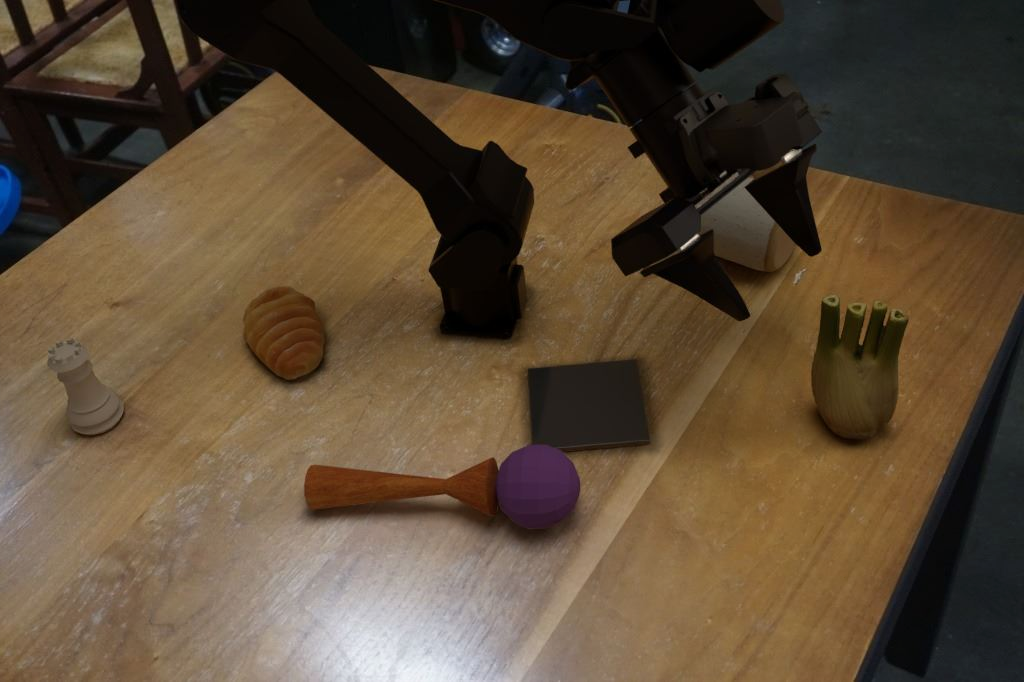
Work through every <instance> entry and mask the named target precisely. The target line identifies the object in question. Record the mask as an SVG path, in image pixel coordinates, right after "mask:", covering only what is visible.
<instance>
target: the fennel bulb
mask: <svg viewBox="0 0 1024 682" xmlns="http://www.w3.org/2000/svg"><path fill="white" fill-rule="evenodd" d="M867 308H868V305H867V304H866V303H864V301H863V302H862V301H857V302H856V301H855V302H852V303H850V304H848V305H847V306H846V312H845V316H844V321H843V326H842V330H841V334H840V327H841V298H840V296H838V294H830V295H826V296H824V297H823V298H822V299H821V303H820V319H819V328H818V329H819V330H818V335H817V341H816V347H815V350H814V354H813V359H812V362H811V370H810V371H811V372H810V376H811V378H810V379H811V382H810V384H811V392H812V396H813V398H814V403H815V405H816V408H817V411H818V413H819V415H820V417H821V418H822V419H823V421H824V423H825V424H826V425H827V426H828V428H829V430H830V431H832V432H833V433H834V434H835V435H837V436H839V437H841V438H845V439H851V440H864V439H868V438H870V437H872V436H873V435H874V434H875V433H877V432H880V431H881V430H882V429H884V428H885V427H886V426H887V425H888V424H889V423H890V422H891V420H892V419H893V417H894V416H895V415H894V414H895V412H896V408H897V405H898V398H899V385H900V384H899V356H900V351H901V346H902V343H903V339H904V337H905V333H906V329H907V327H908V324H909V319H910V318H909V315H908V314H907V313H906V312H905V311H904V310H901V309H897V308H894V307H892V308H890V311H889V313H888V304H887V303H885V302H883V301H882V300H881V299H880V300H879V299H873V302H872V306H871V312H870V315H869V316H870V317H869V319H868V323H867V326H866V331H865V334H864V338H863V341H862V344H860V340H861V336H862V335H861V334H862V331H863V327H864V322H865V318H866V312H867ZM887 313H888V317H887V321H886V323H885V319H886V315H887ZM884 323H885V325H884Z"/></svg>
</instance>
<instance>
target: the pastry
mask: <svg viewBox="0 0 1024 682" xmlns="http://www.w3.org/2000/svg"><path fill="white" fill-rule="evenodd" d="M242 322H243V330H242V333H243V339H244V341H245V342H246V343H247V344H248V347H249V348H250V350H251V352H253V354H254V355H255V356H256V357H257V358H258V359H259V361H261V362H262V363H263V364H264V365H265V366H266V367H267V368H268V369H269V370H270V371H271V372H272V373H274V374H275V376H278V377H280V378H283V379H284V380H288V381H289V380H295V379H297V378H300V377H303V376H305V375H308V374H310V373H311V372H313V371H314V370H316V368H318V367H319V365H320V364H321V361H322V359H323V357H324V345H325V342H326V339H325V334H324V333H325V332H324V331H325V321H324V320H323V318H322V317H321V316H320V315H319V313H318V311H317V308H316V303H315V301H314V300H313V299H312V298H310V297H309V296H306V295H305V294H304V293H302V292H300V291H299V290H296V289H295V288H294V287H292V286H287V285H284V286H283V285H282V286H276V287H272V288H269V289H266V290H264V291H263V292H261V293H260V294H259V295H258V296H257V297H255V298H253V299H251V301H250V302H249V304H248V305H247V306H246V308H245V310H244V314H243V317H242Z"/></svg>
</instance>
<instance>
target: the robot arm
mask: <svg viewBox="0 0 1024 682" xmlns="http://www.w3.org/2000/svg"><path fill="white" fill-rule="evenodd" d="M175 1H176V5H177V8H178V9H177V10H178V12H177V15H178V17H179V18H180V20H181V22H182V23H183V25H184V26H186V28H187V29H188V30H189V31H190V33H192V34H193V35H195V36H196V37H197V38H199V39H201V40H202V41H204V42H205V43H207V44H208V45H210V46H212V47H213V48H215V49H216V50H218V51H220V52H221V53H223V54H225V55H226V56H227V57H229V58H230V59H232V60H234V61H238V62H242V63H246V64H249V65H252V66H257V67H261V68H264V69H268V70H272V71H274V72H276V73H277V74H279V75H280V76H281V77H283V78H284V80H286V81H287V82H288V83H290V84H291V85H292V86H293V87H294V88H295V89H297V90H298V91H299V93H301V94H302V95H304V97H306V98H307V99H308V100H309V101H311V102H312V103H313V104H314V105H315V106H316V107H317V108H319V109H320V110H321V111H322V112H324V113H325V114H326V115H328V117H329V118H331V119H332V120H333V121H334V122H335V123H336V124H338V125H339V126H340V127H341V128H342V129H343V130H344V131H346V132H347V133H348V134H349V135H351V136H352V137H353V138H354V139H355V140H357V141H358V142H359V143H360V144H361V145H362V146H364V147H365V149H367V150H368V151H369V152H370V153H372V154H373V155H374V156H375V157H376V158H377V159H379V160H380V161H381V162H382V163H383V164H385V165H386V166H387V167H388V168H389V169H390V170H391V171H393V172H394V173H395V174H396V175H398V176H399V177H400V178H401V179H402V180H404V182H405V183H407V184H408V185H409V186H411V187H412V188H413V189H414V190H415V191H416V192H417V193H418V194H419V196H420V197H421V200H422V202H423V204H424V207H425V208H426V210H427V212H428V215H429V217H430V219H431V221H432V223H433V225H434V227H435V229H436V231H437V232H438V233H439V235H440V237H439V240H438V242H437V245H436V248H435V251H434V254H433V256H432V259H431V261H430V264H429V267H428V273H429V274H430V276H431V278H432V279H433V281H434V282H435V284H436V285H437V287H438V288H439V290H440V294H441V300H442V307H443V312H444V313H443V316H442V317H441V321H440V323H439V326H438V327H439V331H440V333H443V334H450V335H461V336H473V337H482V338H493V339H503V340H504V339H505V340H507V339H512V337H513V336H514V333H515V331H516V330H515V329H516V327H517V324H518V321H520V320H521V319H522V318H523V316H524V312H525V309H526V306H527V303H528V291H527V283H526V282H527V281H526V275H525V267H524V265H523V264H520V263H519V264H518V256H519V255H520V254H521V250H522V248H523V245H524V241H525V238H526V235H527V234H526V233H527V231H528V228H529V227H528V226H529V223H530V220H531V216H532V214H533V213H532V212H533V208H534V205H535V193H534V192H535V189H534V186H533V184H532V182H531V181H530V180H529V179H528V177H527V172H528V168H527V167H526V166H524V165H522V164H519V163H517V162H516V161H514V160H513V159H512V158H511V157H509V155H508V154H507V153H506V152H505V151H504V149H503V148H502V146H500V145H499V144H498V143H497V142H495V141H493V140H489V141H488V142H487V143H486V144H485V145H484V146H483V148H482V149H481V150H480V149H478V148H477V149H476V148H473V147H469V146H464V145H461V144H459V143H458V142H456V141H455V140H454V139H452V138H451V137H450V136H449V135H447V134H446V133H445V132H444V131H443V130H442V129H441V128H440V127H439V126H438V125H436V124H435V122H433V121H432V120H430V118H428V117H427V115H425V114H424V113H423V112H422V111H421V110H419V109H418V108H417V107H416V106H415V105H414V104H413V103H412V102H411V101H409V100H408V99H407V98H406V97H405V96H403V94H402V93H401V92H399V91H398V90H397V89H396V88H394V86H392V85H391V84H390V83H389V82H388V81H387V80H386V79H385V78H383V77H382V75H380V74H379V73H378V72H377V71H375V70H374V69H373V68H372V67H371V66H370V65H369V64H368V63H367V62H366V61H364V60H363V59H362V58H361V57H360V56H359V55H357V53H355V52H354V51H353V50H352V49H351V48H350V47H349V46H347V45H346V43H344V42H343V41H341V40H340V39H339V38H338V37H337V35H335V34H334V33H333V32H332V31H330V29H328V28H327V27H326V26H325V25H324V24H323V23H322V22H321V21H320V20H319V19H318V18H317V16H316V15H315V14H316V13H315V12H314V11H313V8H312V6H311V4H310V1H309V0H175ZM433 1H434V2H438V3H440V4H445V5H449V6H452V7H455V8H459V9H463V10H466V11H470V12H474V13H476V14H479V15H481V16H483V17H485V18H488V19H490V20H492V21H493V22H495V24H497V25H498V26H499V27H500V28H501V29H503V30H504V31H505V32H506V33H507V34H508V35H510V36H511V37H512V38H513V39H515V40H516V41H518V42H520V43H522V44H524V45H527V46H529V47H530V48H534V49H536V50H538V51H540V52H542V53H544V54H547V55H548V56H551V57H553V58H556V59H558V60H562V61H567V62H570V65H569V69H568V73H567V77H566V81H565V88H566V89H567V90H568V91H573V90H576V89H577V88H579V87H580V86H583V85H585V84H586V83H588V82H590V81H591V80H593V79H595V81H597V83H598V84H599V86H600V88H601V90H602V91H603V93H604V94H605V96H606V97H607V98H608V100H609V101H610V103H611V104H612V106H613V107H614V109H615V110H616V112H617V113H618V115H619V116H620V118H621V119H622V121H623V122H624V124H625V125H626V126H627V129H628V130H629V131H630V133H631V134H632V136H633V137H634V139H635V140H636V141H634V142H632V143H631V144H630V145H628V146H627V149H628V151H629V152H630V154H631V155H632V157H633V158H634V159H635V160H636V159H637V158H639V157H640V156H642V155H644V154H645V155H646V156H647V158H648V160H649V161H650V162H651V164H652V166H653V167H654V169H655V170H656V172H657V173H658V174H659V176H660V178H661V179H662V181H663V183H665V185H666V187H667V188H665V189H664V190H662V191H661V192H660V193H658V196H659V198H661V200H662V201H663V203H662V204H661V205H659V206H657V207H655V208H654V209H652V210H650V211H648V212H646V213H644V214H643V215H641V216H639V217H638V218H637V219H635V220H634V221H633V222H632V223H630V224H629V225H628V226H627V227H625V228H624V229H623V230H621V231H620V232H619V233H617V234H616V235H615V236H613V237H612V238H611V239H610V246H611V248H610V249H611V250H610V251H611V252H610V253H611V258H612V260H613V261H614V262H615V264H616V266H617V267H618V269H619V270H620V271H621V273H622V274H623V276H624V277H625V278H626V277H628V276H631V275H633V274H634V273H637V272H639V274H640V275H641V276H642V277H643V278H647V277H650V276H651V275H654V276H656V277H659V278H661V279H663V280H665V281H667V282H669V283H671V284H673V285H676V286H677V287H679V288H682V289H683V290H685V291H687V292H689V293H691V294H693V295H694V296H696V297H698V298H699V299H700V300H703V301H704V302H706V303H707V304H709V305H711V306H712V307H714V308H715V309H717V310H719V311H721V312H722V313H724V314H726V315H727V316H728V317H731V318H732V319H734V321H735V320H736V321H737V322H743V321H746V320H748V319H750V317H751V313H750V311H749V307H748V306H747V304H746V302H745V300H744V299H743V296H742V294H741V293H740V292H739V290H738V289H737V287H736V285H735V284H734V282H733V281H732V279H731V277H730V276H729V274H728V273H727V271H726V270H725V268H724V267H723V265H722V263H721V262H720V260H719V259H718V258H717V257H718V256H715V253H714V231H713V229H711V230H709V231H707V232H705V233H703V234H701V235H700V234H699V232H700V231H701V215H702V214H703V213H705V212H706V211H707V210H708V209H710V208H711V207H712V206H713V205H715V204H716V203H717V202H718V201H720V200H721V199H722V198H723V197H725V196H726V195H727V194H728V193H730V192H731V191H732V190H733V189H735V188H736V187H737V186H738V185H740V184H741V183H742V182H743V181H745V180H746V179H747V178H748V177H751V176H752V178H753V179H754V180H752V181H751V182H750V183H749V184H747V185H746V186H745V189H746V190H747V191H748V192H749V193H750V194H751V196H752V197H753V198H754V199H755V200H756V201H757V202H758V203H759V204H760V206H761V207H762V208H763V209H764V210H765V211H766V212H767V213H768V214H769V215H770V216H771V217H772V219H773V220H774V221H775V222H776V223H777V224H778V225H779V226H780V227H781V229H782V230H783V231H784V232H785V233H786V234H787V235H788V236H789V237H790V238H791V240H792V241H793V242H794V243H795V244H796V245H797V247H798V248H800V249H801V251H803V253H804V254H806V255H807V256H808V257H810V258H812V257H815V256H817V255H819V254H821V253H822V250H823V249H822V244H821V240H820V235H819V231H818V228H817V224H816V220H815V215H814V212H813V211H814V210H813V208H812V203H811V199H810V194H809V193H810V192H809V187H808V181H807V174H808V170H809V167H810V164H811V160H812V157H813V155H814V154H815V153H816V152H817V147H818V146H817V143H814V144H811V145H810V146H808V147H806V146H807V145H809V143H811V142H812V141H813V140H815V139H816V138H817V137H818V136H819V135H821V134H822V133H823V130H822V129H821V127H820V126H819V124H818V122H817V121H816V120H815V117H814V116H813V115H812V114H811V112H810V111H809V104H808V102H807V101H806V100H805V99H804V96H803V95H804V94H802V91H801V90H800V88H799V87H798V85H796V83H795V82H794V81H793V79H792V78H791V77H790V76H789V75H788V73H787V72H784V73H777V74H771V75H769V76H767V77H766V78H765V79H763V80H762V81H761V82H759V83H758V84H757V85H756V86H755V89H754V96H749V97H748V98H747V99H745V100H744V101H742V102H739V103H734V104H732V103H731V102H730V101H729V100H728V99H727V97H726V96H725V94H724V93H723V92H722V91H721V90H718V89H717V87H716V86H714V87H712V89H710V90H708V91H706V92H704V91H703V89H702V88H701V87H700V85H699V84H698V82H696V81H697V80H696V79H695V77H694V76H693V74H692V73H691V71H690V69H689V68H688V67H687V66H690V67H691V68H693V69H694V70H695V71H696V72H698V73H702V72H704V71H706V70H710V71H711V70H712V71H713V70H715V69H717V68H718V67H720V66H721V65H723V64H724V63H726V62H727V61H728V60H729V59H731V58H733V57H734V56H736V55H737V54H739V53H741V51H743V50H745V49H746V48H747V47H749V46H750V45H751V44H753V43H754V42H756V41H757V40H759V39H760V38H762V37H763V36H764V35H766V34H767V33H769V32H770V31H772V30H773V29H774V28H776V27H778V26H779V25H780V24H782V23H784V21H785V9H784V7H783V4H782V0H629V4H628V9H627V12H624V11H619V5H620V2H625V1H627V2H628V0H433ZM805 147H806V148H805ZM724 171H726V172H727V173H726V174H724V175H723V176H722V177H721V178H720V175H721V174H722V173H723V172H724ZM706 188H707V189H706ZM703 190H704V191H703ZM702 191H703V192H702ZM700 192H701V193H700ZM796 245H795V246H796Z"/></svg>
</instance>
